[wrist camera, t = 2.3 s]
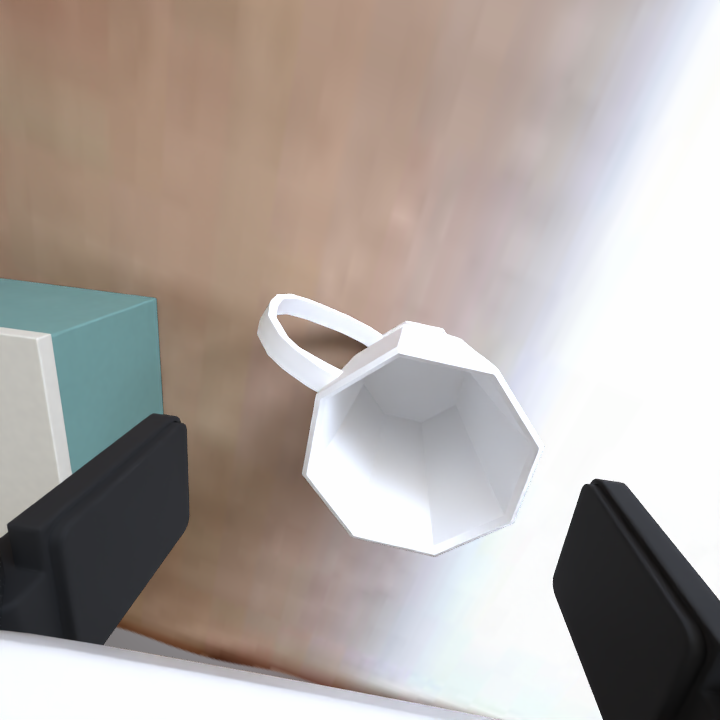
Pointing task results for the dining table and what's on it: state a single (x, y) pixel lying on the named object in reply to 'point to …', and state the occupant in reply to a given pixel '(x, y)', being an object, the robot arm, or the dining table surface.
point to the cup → (408, 432)
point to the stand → (69, 382)
